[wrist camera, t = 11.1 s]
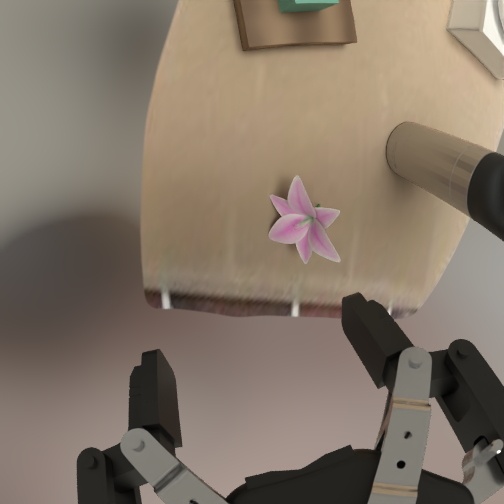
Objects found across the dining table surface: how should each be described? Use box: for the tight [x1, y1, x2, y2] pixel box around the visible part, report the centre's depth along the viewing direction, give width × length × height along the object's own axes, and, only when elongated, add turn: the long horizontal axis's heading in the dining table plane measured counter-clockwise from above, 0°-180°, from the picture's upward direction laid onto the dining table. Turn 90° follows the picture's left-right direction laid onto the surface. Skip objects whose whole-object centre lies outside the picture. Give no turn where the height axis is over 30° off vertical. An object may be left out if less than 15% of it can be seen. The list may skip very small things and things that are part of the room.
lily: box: [269, 175, 341, 264], centre depth 42 cm, size 12×12×10 cm
